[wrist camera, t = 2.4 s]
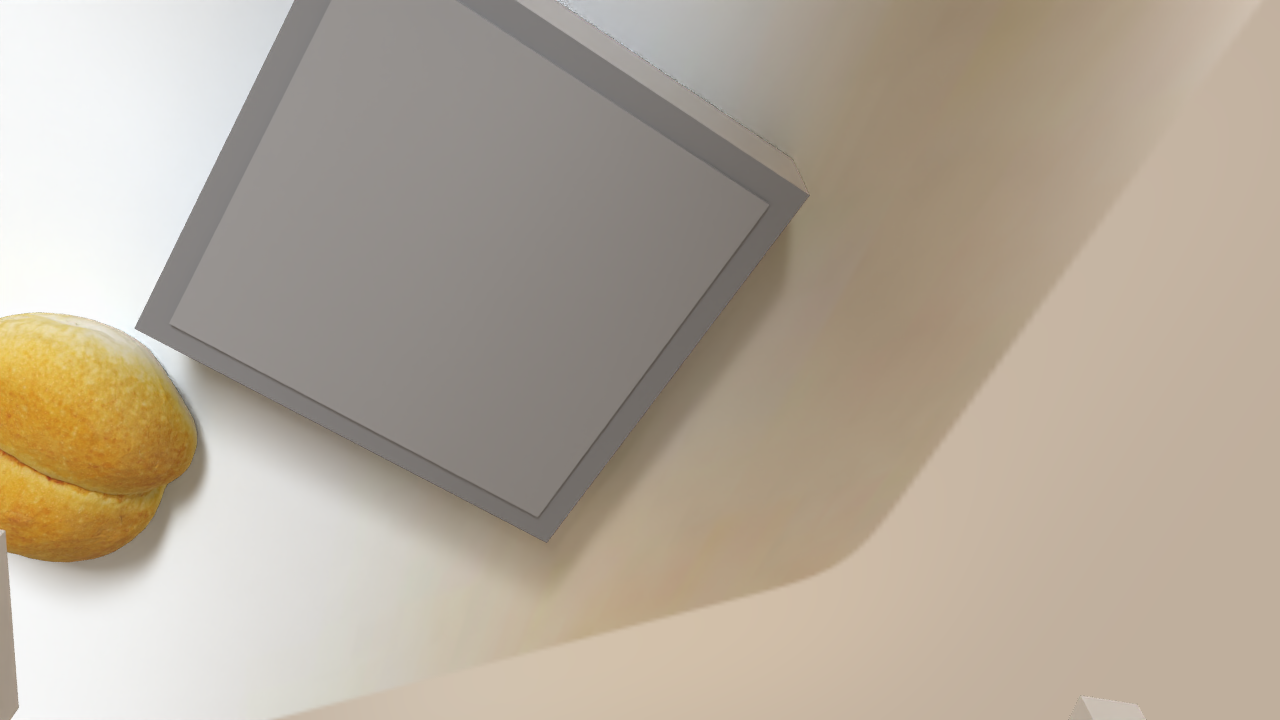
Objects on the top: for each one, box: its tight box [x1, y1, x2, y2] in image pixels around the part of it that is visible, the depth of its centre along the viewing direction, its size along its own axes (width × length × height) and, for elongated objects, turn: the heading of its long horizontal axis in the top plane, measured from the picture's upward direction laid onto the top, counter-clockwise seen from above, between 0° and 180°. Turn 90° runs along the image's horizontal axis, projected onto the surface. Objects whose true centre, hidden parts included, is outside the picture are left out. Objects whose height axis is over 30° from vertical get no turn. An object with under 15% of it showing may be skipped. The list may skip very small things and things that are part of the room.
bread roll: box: [0, 312, 197, 562], centre depth 35 cm, size 8×9×4 cm
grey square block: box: [135, 0, 809, 543], centre depth 31 cm, size 14×14×4 cm
